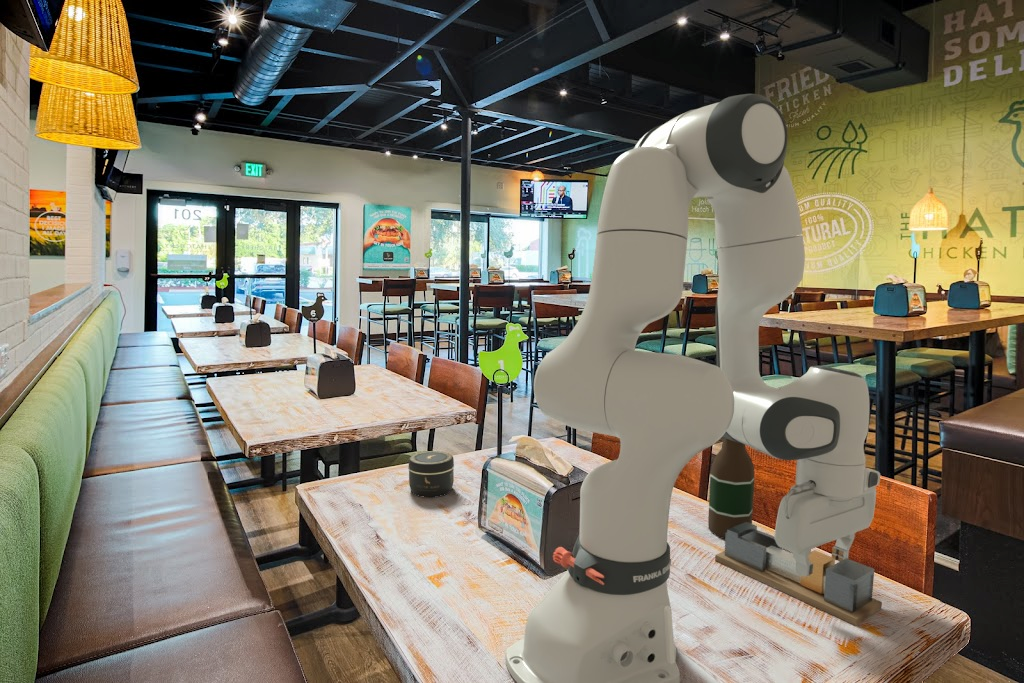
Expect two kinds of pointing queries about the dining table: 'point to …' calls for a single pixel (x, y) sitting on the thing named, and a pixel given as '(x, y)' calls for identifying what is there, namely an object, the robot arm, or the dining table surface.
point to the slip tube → (786, 567)
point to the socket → (849, 585)
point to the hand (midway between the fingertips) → (822, 566)
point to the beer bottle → (730, 488)
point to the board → (801, 591)
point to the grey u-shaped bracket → (748, 545)
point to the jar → (431, 473)
